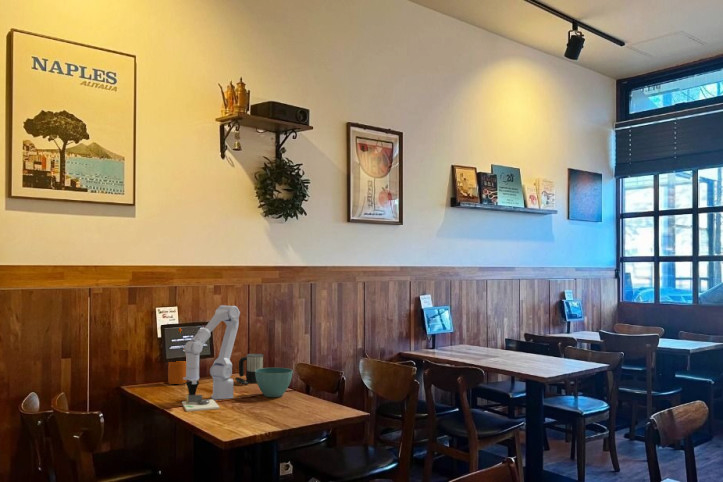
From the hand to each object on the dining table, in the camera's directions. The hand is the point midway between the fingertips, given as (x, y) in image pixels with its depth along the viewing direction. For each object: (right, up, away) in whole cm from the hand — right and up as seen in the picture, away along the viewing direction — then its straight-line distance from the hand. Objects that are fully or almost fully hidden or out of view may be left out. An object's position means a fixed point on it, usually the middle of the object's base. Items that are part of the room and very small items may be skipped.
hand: (192, 397), depth 274 cm
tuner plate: (+5, -3, -5) cm, 8 cm away
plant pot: (+35, -4, +19) cm, 40 cm away
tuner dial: (+3, -1, -4) cm, 5 cm away
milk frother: (+17, -6, +52) cm, 55 cm away
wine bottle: (-21, -5, +48) cm, 53 cm away
